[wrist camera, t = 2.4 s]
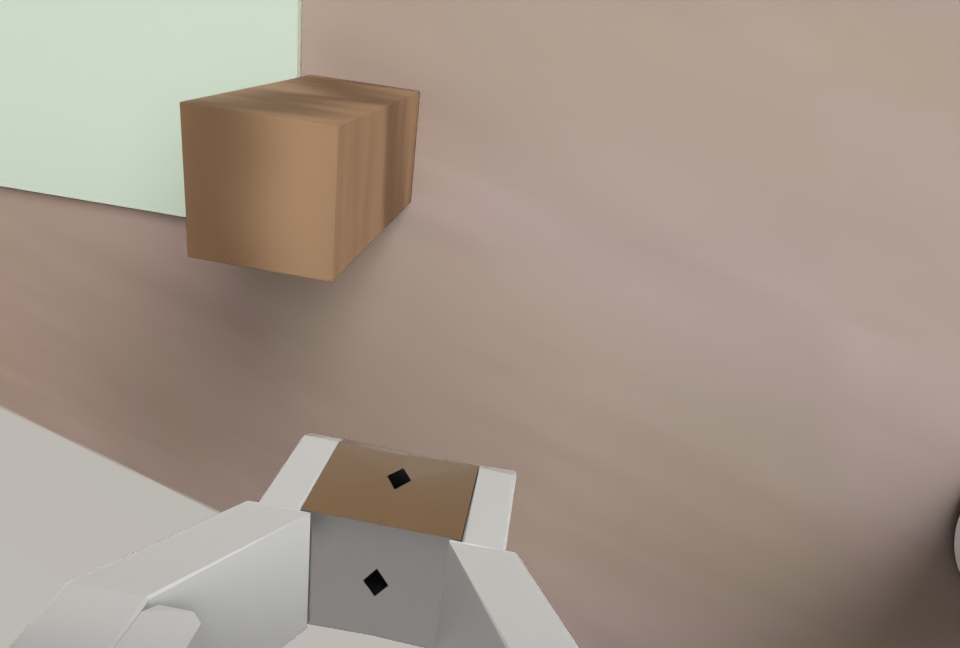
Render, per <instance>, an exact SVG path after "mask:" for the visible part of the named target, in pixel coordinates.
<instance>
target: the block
mask: <svg viewBox="0 0 960 648" xmlns="http://www.w3.org/2000/svg"><path fill="white" fill-rule="evenodd" d="M419 99H420V91H415V90H409V89H402V88H395V87H389V86H382V85H375V84H369V83H362V82H355V81H348V80H342V79H335V78H328V77H322V76H315V75H309V76H304V77H299V78H294V79H289V80H284V81H279V82H275V83H270V84H265V85H260V86H255V87H250V88H245V89H240V90H236V91H231V92H226V93H221V94H216V95H211V96H206V97H201V98H197V99H192V100H187V101H182V102H180V119H181V137H182V155H183V173H184V191H185V208H186V226H187V244H188V257H192V258H198V259H203V260H209V261H215V262H221V263H227V264H232V265H238V266H244V267H250V268H255V269H261V270H267V271H273V272H279V273H284V274H290V275H296V276H302V277H307V278H313V279H319V280H325V281H331V282H333V281H334V280H335V279H336V278H337V277H338V276H339V275H340V274H341V273H342V272H343V271H344V270H345V269H346V268H347V267H348V266H349V265H350V264H351V263H352V262H353V260H354V259H355V258H356V257H357V256H358V255H359V254H360V253H361V252H362V251H363V250H364V249H365V248H366V247H367V246H368V245H369V244H370V243H371V242H372V241H373V240H374V239H375V238H376V237H377V236H378V235H379V234H380V233H381V232H382V231H383V230H384V229H385V228H386V226H387V225H388V224H389V223H390V222H391V221H392V220H393V219H394V218H395V217H396V216H397V215H398V214H399V213H400V212H401V211H402V210H403V209H404V208H405V207H406V206H407V205H408V204H409V203H410V202H411V194H412V182H413V170H414V158H415V146H416V134H417V123H418V111H419Z"/></svg>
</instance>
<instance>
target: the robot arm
mask: <svg viewBox="0 0 960 648" xmlns="http://www.w3.org/2000/svg"><path fill="white" fill-rule="evenodd" d="M515 482H516V472H515V470H508V469H502V468H495V467H489V466H482V465H481V466H480V468H479V466H476V465H471V464H465V463H459V462H454V461H448V460H442V459H437V458H431V457H425V456H420V455H414V454H411V453H408V452H403V451H398V450H393V449H388V448H384V447H379V446H374V445H369V444H365V443H360V442H355V441H350V440H345V439H344V440H342V439H340V438H335V437H330V436H324V435H319V434H314V433H308V434H306V435H304V436H303V437H302V438H301V439H300V441H299V442H298V444H297V445H296V447H295V448H294V450H293V451H292V453H291V454H290V456H289V457H288V459H287V460H286V462H285V463H284V465H283V466H282V467H281V469H280V470H279V472H278V473H277V475H276V476H275V478H274V479H273V481H272V482H271V484H270V485H269V487H268V488H267V490H266V491H265V493H264V494H263V496H262V497H261V498H260V500H259V501H258V502H253V501H245V502H243V503H241V504H239V505H237V506H234V507H232V508H230V509H228V510H226V511H223V512H221V513H219V514H217V515H215V516H212V517H210V518H208V519H206V520H204V521H202V522H199V523H197V524H195V525H193V526H190V527H188V528H186V529H184V530H182V531H179V532H177V533H175V534H173V535H171V536H168V537H166V538H164V539H162V540H160V541H157V542H155V543H153V544H151V545H149V546H146V547H144V548H142V549H140V550H138V551H135V552H133V553H131V554H129V555H127V556H124V557H122V558H120V559H118V560H116V561H113V562H111V563H109V564H107V565H105V566H102V567H100V568H98V569H96V570H94V571H91V572H90V573H87V574H85V575H83V576H80V577H78V578H76V579H74V580H72V581H70V582H68V583H67V584H66V585H65V586H64V587H63V588H62V589H61V590H60V591H59V593H58V594H57V595H56V596H55V597H54V598H53V599H52V600H51V601H50V602H49V604H47V606H46V607H45V608H44V609H43V610H42V611H41V612H40V613H39V614H38V615H37V616H36V618H35V619H34V620H33V621H32V622H31V623H30V624H29V625H28V626H27V627H26V628H25V629H24V631H23V632H22V633H21V634H20V635H19V636H18V637H17V638H16V639H15V640H14V641H13V643H12V644H11V645H10V646H9V647H8V648H282V647H284V646H285V645H286V644H287V643H288V642H290V641H291V640H292V639H294V638H295V637H296V636H297V635H299V634H300V633H301V632H302V631H304V630H305V629H306V628H307V624H311V625H317V626H323V627H328V628H334V629H340V630H345V631H351V632H357V633H363V634H368V635H373V636H377V637H381V638H385V639H390V640H394V641H398V642H403V643H407V644H411V645H415V646H419V647H424V648H579V647H578V646H577V644H576V643H575V641H574V639H573V638H572V636H571V635H570V633H569V632H568V630H567V629H566V627H565V626H564V624H563V623H562V621H561V620H560V618H559V617H558V615H557V614H556V612H555V611H554V609H553V608H552V606H551V605H550V603H549V602H548V600H547V599H546V597H545V596H544V594H543V593H542V591H541V590H540V588H539V587H538V585H537V584H536V582H535V580H534V579H533V577H532V576H531V574H530V573H529V571H528V570H527V568H526V567H525V565H524V564H523V562H522V561H521V559H520V558H519V556H518V555H517V553H514V552H509V551H506V544H507V537H508V530H509V523H510V517H511V510H512V503H513V496H514V489H515ZM954 550H955V558H956V562H957V566H958V569H959V572H960V516H959V518H958V522H957V526H956V531H955V540H954Z"/></svg>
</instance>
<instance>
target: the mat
mask: <svg viewBox="0 0 960 648" xmlns="http://www.w3.org/2000/svg"><path fill="white" fill-rule="evenodd" d="M300 62H301V0H0V186H3V187H9V188H15V189H21V190H27V191H33V192H39V193H45V194H51V195H57V196H63V197H69V198H75V199H81V200H87V201H93V202H99V203H104V204H110V205H116V206H122V207H128V208H134V209H140V210H146V211H152V212H158V213H164V214H170V215H176V216H182V217H186V208H185V191H184V173H183V155H182V137H181V119H180V102H182V101H187V100H192V99H197V98H201V97H206V96H211V95H216V94H221V93H226V92H231V91H236V90H240V89H245V88H250V87H255V86H260V85H265V84H270V83H275V82H279V81H284V80H289V79H294V78H299V77H300Z"/></svg>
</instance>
